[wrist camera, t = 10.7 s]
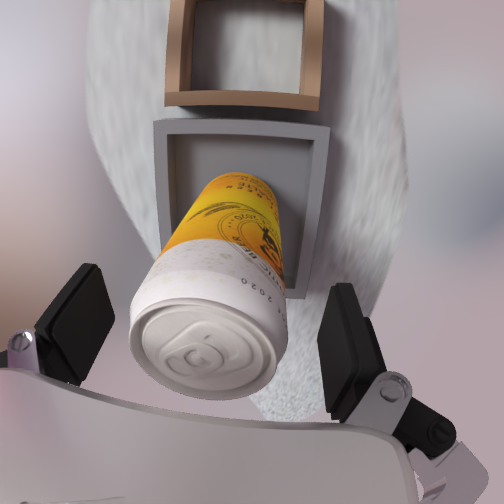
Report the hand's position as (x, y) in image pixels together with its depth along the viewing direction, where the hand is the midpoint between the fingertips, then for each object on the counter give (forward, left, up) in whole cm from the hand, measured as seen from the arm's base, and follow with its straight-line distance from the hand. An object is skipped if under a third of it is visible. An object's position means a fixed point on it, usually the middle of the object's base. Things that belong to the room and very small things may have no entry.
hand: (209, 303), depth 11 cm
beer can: (+1, 0, -13) cm, 13 cm away
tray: (+1, 0, -13) cm, 13 cm away
